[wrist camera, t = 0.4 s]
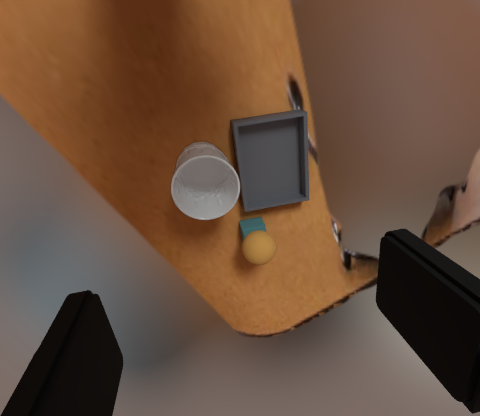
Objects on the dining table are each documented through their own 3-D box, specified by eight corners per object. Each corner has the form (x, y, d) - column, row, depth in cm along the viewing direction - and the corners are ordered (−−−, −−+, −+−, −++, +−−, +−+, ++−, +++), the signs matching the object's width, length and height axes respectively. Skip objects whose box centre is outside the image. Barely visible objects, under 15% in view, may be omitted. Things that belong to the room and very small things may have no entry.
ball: (237, 227, 45) (243, 245, 40) (269, 221, 45) (279, 238, 41) (241, 255, 47) (247, 275, 43) (272, 249, 48) (281, 267, 43)
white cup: (225, 191, 46) (235, 221, 37) (172, 187, 44) (169, 218, 35) (232, 140, 43) (244, 159, 34) (175, 133, 41) (172, 152, 32)
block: (238, 221, 48) (242, 231, 45) (260, 216, 49) (266, 227, 45) (241, 240, 50) (245, 251, 47) (262, 235, 50) (268, 247, 47)
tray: (230, 120, 41) (233, 123, 39) (300, 109, 42) (307, 111, 40) (241, 204, 47) (244, 212, 45) (303, 193, 48) (309, 200, 46)
